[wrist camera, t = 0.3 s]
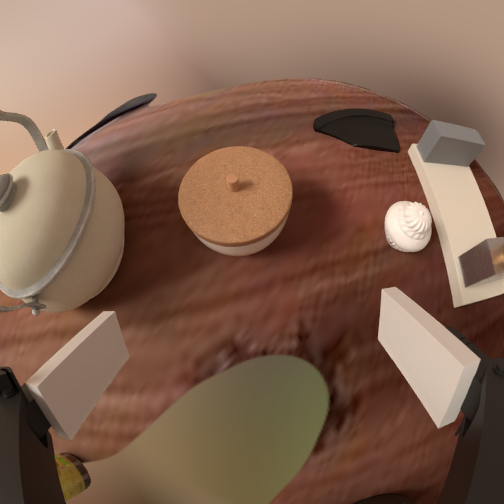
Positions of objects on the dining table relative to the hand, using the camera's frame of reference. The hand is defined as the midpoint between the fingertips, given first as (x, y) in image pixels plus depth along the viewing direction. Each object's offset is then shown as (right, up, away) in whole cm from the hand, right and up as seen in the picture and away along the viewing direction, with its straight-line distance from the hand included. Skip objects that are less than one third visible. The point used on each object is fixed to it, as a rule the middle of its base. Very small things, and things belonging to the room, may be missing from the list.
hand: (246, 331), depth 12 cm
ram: (+31, +1, +14) cm, 34 cm away
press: (+31, +8, +19) cm, 37 cm away
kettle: (-23, +5, +20) cm, 31 cm away
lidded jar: (-1, +7, +20) cm, 21 cm away
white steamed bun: (+18, +5, +18) cm, 26 cm away
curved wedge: (+17, +23, +25) cm, 38 cm away
